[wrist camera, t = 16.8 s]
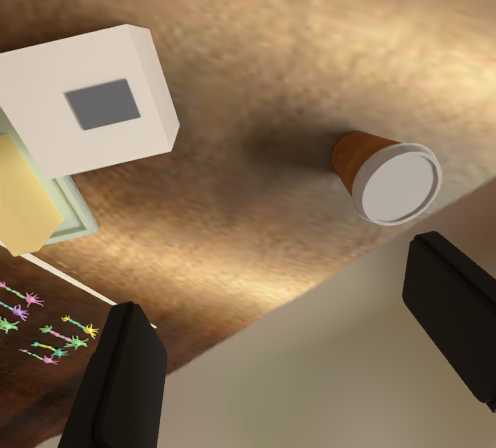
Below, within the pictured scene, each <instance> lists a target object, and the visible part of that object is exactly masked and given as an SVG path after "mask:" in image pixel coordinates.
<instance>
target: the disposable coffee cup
mask: <svg viewBox="0 0 496 448" xmlns="http://www.w3.org/2000/svg"><path fill="white" fill-rule="evenodd" d="M331 160H332V165H333V167H334V169H335V170H336V172H337V174H338V175H339V177H340V179H341V180H342V182H343V184H344V185H345V187H346V188H347V190H348V192H349V194H350V195H351V197H352V200H353V204H354V207H355V209H356V211H357V213H358V214H359V215H360V216H361V217H362V218H364V219H365V220H367V221H370V222H373V223H377V224H379V225H385V226H391V225H398V224H401V223H405V222H407V221H409V220H411V219H413V218H415V217H416V216H418V215H419V214H421V213H422V212H423V211H424V210H425V209H426V208H427V207H428V206H429V205H430V203H431V202H432V201H433V200H434V198H435V197H436V195H437V193H438V191H439V189H440V186H441V181H442V170H441V167H440V165H439V163H438V161H437V159H436V157H435V155H434V154H433V152H432V151H431V150H430V149H428V148H427V147H425V146H424V145H421V144H417V143H410V142H407V143H400V142H397V141H393V140H390V139H386V138H382V137H378V136H375V135H371V134H368V133H365V132H352V133H349V134H347V135H346V136H344V137H343V138H341V139H340V140H339V141H338V143H337V144H336V146H335V147H334V149H333V152H332V157H331Z"/></svg>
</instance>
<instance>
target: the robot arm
mask: <svg viewBox="0 0 496 448" xmlns="http://www.w3.org/2000/svg"><path fill="white" fill-rule="evenodd" d="M402 297H403V301H404V303H405V305H406V306H407V307H408V309H409V310H410V311H411V313H412V314H413V315H414V317H415V318H416V319H417V321H418V322H419V323H420V325H421V326H422V327H423V329H424V330H425V331H426V333H427V334H428V335H429V337H430V338H431V339H432V341H434V343H435V344H436V346H437V347H438V348H439V350H440V351H441V352H442V354H443V355H444V356H445V358H446V359H447V360H448V362H449V363H450V364H451V366H452V367H453V368H454V370H455V371H456V372H457V373H458V375H459V376H460V377H461V379H462V380H463V381H464V383H465V384H466V385H467V387H468V388H469V389H470V391H471V392H472V393H473V395H474V396H475V397H476V398H477V399H478V400H479V401H480V402H482V403H486V404H487V405H488V407H489V408H490V409H491V411H492V412H493V413H496V279H494V278H493V277H492V276H491V275H489V274H488V273H487V272H486V271H485V270H483V269H482V268H481V267H480V266H478V265H477V264H476V263H475V262H474V261H472V260H471V259H470V258H469V257H467V256H466V255H465V254H464V253H463V252H461V251H460V250H459V249H457V247H455V246H454V245H453V244H452V243H450V242H449V241H448V240H447V239H446V238H444V237H443V236H442V235H440V234H439V233H438V232H436V231H431V232H428V233H423V234H419V235H416V236H415V237H414V240H412V241H411V242H410V246H409V252H408V259H407V266H406V273H405V280H404V287H403V294H402ZM167 359H168V358H167V351H166V349H165V347H164V345H163V344H162V342H161V340H160V339H159V337H158V335H157V334H156V332H155V330H154V329H153V327H152V325H151V324H150V322H149V320H148V319H147V317H146V315H145V314H144V312H143V310H142V309H141V307H140V306H139V305H138V304H134V303H133V302H132V301H129V302H125V303H120V304H116V305H113V306H112V308H111V310H110V312H109V315H108V318H107V321H106V323H105V326H104V329H103V332H102V335H101V337H100V340H99V343H98V346H97V348H96V351H95V352H94V353H93V354H92V356H91V358H90V361H89V363H88V366H87V369H86V372H85V374H84V377H83V380H82V382H81V385H80V388H79V391H78V393H77V396H76V399H75V401H74V404H73V407H72V410H71V412H70V415H69V418H68V420H67V423H66V426H65V429H64V431H63V434H62V437H61V439H60V442H59V445H58V448H157V441H158V433H159V425H160V416H161V408H162V400H163V392H164V384H165V376H166V368H167Z"/></svg>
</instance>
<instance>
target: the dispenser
mask: <svg viewBox="0 0 496 448" xmlns="http://www.w3.org/2000/svg"><path fill="white" fill-rule="evenodd" d="M0 106H1V108H2V109H3V111H4V112H5V114H6V116H7V117H8V119H9V120H10V122H11V124H12V125H13V127H14V128H15V130H16V131H17V133H18V135H19V136H20V138H21V139H22V141H23V142H24V144H25V146H26V147H27V149H28V150H29V152H30V154H31V155H32V157H33V158H34V160H35V161H36V163H37V165H38V166H39V168H40V169H41V171H42V172H43V174H44V176H45V177H46V179H47V180H49V179H54V178H58V177H62V176H69V175H73V174H77V173H81V172H86V171H90V170H94V169H99V168H103V167H107V166H112V165H114V164H118V163H122V162H127V161H131V160H135V159H140V158H144V157H148V156H152V155H157V154H161V153H165V152H170V151H171V150H172V147H173V144H174V141H175V138H176V135H177V132H178V129H179V126H180V125H179V122H178V119H177V115H176V112H175V109H174V106H173V103H172V100H171V97H170V93H169V90H168V87H167V84H166V81H165V78H164V75H163V72H162V68H161V65H160V62H159V59H158V56H157V53H156V50H155V46H154V43H153V40H152V37H151V34H150V31H149V29H146V28H141V27H137V26H133V25H129V24H124V25H120V26H116V27H112V28H107V29H103V30H99V31H95V32H90V33H86V34H82V35H77V36H73V37H69V38H65V39H60V40H56V41H52V42H48V43H43V44H39V45H35V46H31V47H26V48H22V49H18V50H13V51H9V52H5V53H1V54H0Z"/></svg>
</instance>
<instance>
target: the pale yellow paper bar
mask: <svg viewBox="0 0 496 448" xmlns="http://www.w3.org/2000/svg"><path fill="white" fill-rule="evenodd" d="M63 220H64V219H63V217H62V216H61V214H60V213H59V211H58V210H57V208H56V207H55V205H54V204H53V202H52V201H51V199H50V198H49V196H48V194H47V193H46V191H45V190H44V188H43V187H42V185H41V184H40V182H39V181H38V179H37V178H36V176H35V175H34V173H33V172H32V170H31V169H30V167H29V166H28V164H27V162H26V161H25V159H24V158H23V156H22V155H21V153H20V152H19V150H18V149H17V147H16V146H15V144H14V143H13V141H12V140H11V138H10V137H9V135H8V134H7V133H5V134H0V241H1V242H2V243H3V244H4V245H5V247H6V248H7V249H8V250H9V251H10V252H11V254H12V255H13V256H18V255H22V254H27V253H31V252H35V251H39V250H40V249H41V247H42V246H43V245H44V244H45V242H46V241H47V240H48V239H49V237H50V236H51V235H52V234H53V233H54V231H55V230H56V229H57V228H58V226H59V225H60V224H61V223H62V221H63Z"/></svg>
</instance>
